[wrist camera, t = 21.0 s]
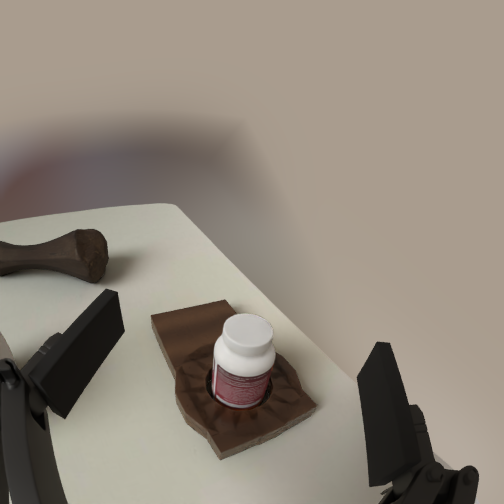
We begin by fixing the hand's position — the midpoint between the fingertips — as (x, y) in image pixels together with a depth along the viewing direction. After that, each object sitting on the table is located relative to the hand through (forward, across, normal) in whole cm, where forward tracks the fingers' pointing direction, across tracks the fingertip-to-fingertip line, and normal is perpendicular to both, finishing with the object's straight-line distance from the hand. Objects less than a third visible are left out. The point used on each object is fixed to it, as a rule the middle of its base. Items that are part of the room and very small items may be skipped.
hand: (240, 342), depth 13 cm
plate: (+13, -3, -19) cm, 23 cm away
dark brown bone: (+21, -41, -18) cm, 49 cm away
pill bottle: (+10, 0, -19) cm, 21 cm away
